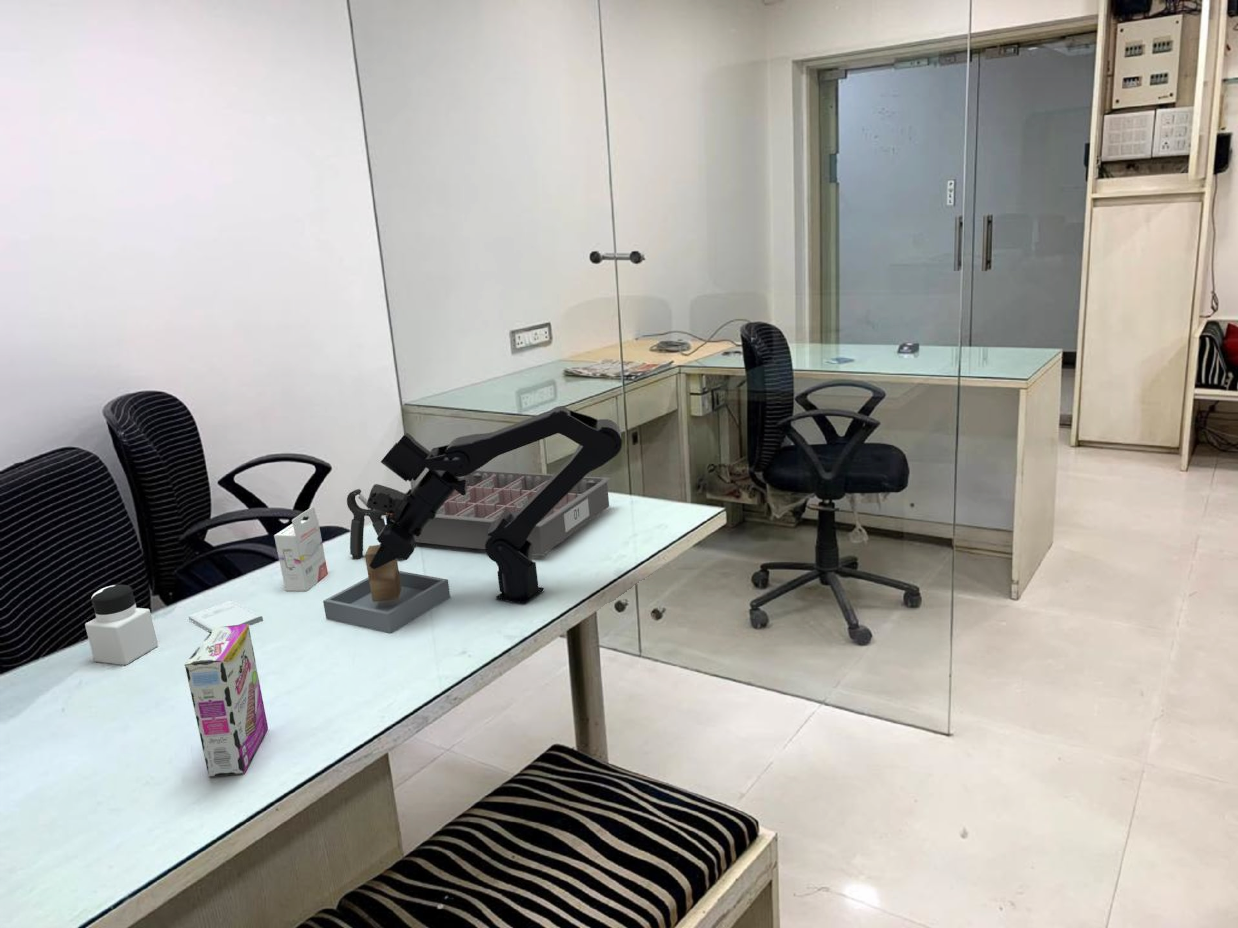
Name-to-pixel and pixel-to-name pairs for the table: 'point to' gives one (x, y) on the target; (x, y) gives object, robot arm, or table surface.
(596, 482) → the organizer tray
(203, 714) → the candy bar box
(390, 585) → the walnut block
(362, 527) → the hand grip strengthener
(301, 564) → the ink cartridge box
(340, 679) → the table surface
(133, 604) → the medicine bottle
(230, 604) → the white power bank
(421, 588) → the charcoal bin
